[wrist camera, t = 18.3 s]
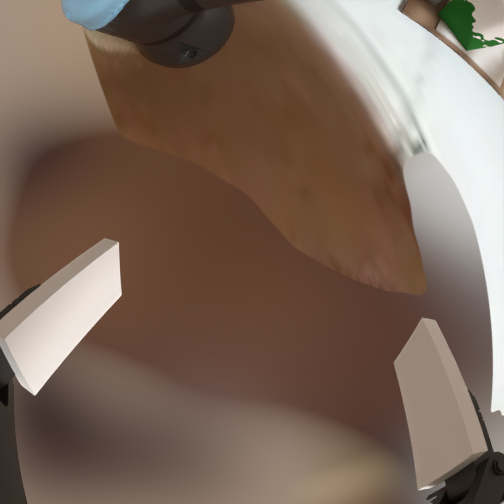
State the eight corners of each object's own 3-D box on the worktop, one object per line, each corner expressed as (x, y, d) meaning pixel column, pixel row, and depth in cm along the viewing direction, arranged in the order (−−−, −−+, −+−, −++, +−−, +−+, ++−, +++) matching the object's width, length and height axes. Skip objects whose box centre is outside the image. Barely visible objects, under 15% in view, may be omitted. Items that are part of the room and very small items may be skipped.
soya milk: (457, -4, 19) (521, -44, 1) (492, 41, 21) (568, 22, 3) (429, 11, 23) (495, -37, 5) (467, 59, 25) (550, 39, 7)
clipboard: (401, 12, 25) (412, 1, 21) (426, -35, 18) (435, -47, 14) (513, 111, 26) (530, 113, 22) (529, 57, 20) (545, 55, 15)
